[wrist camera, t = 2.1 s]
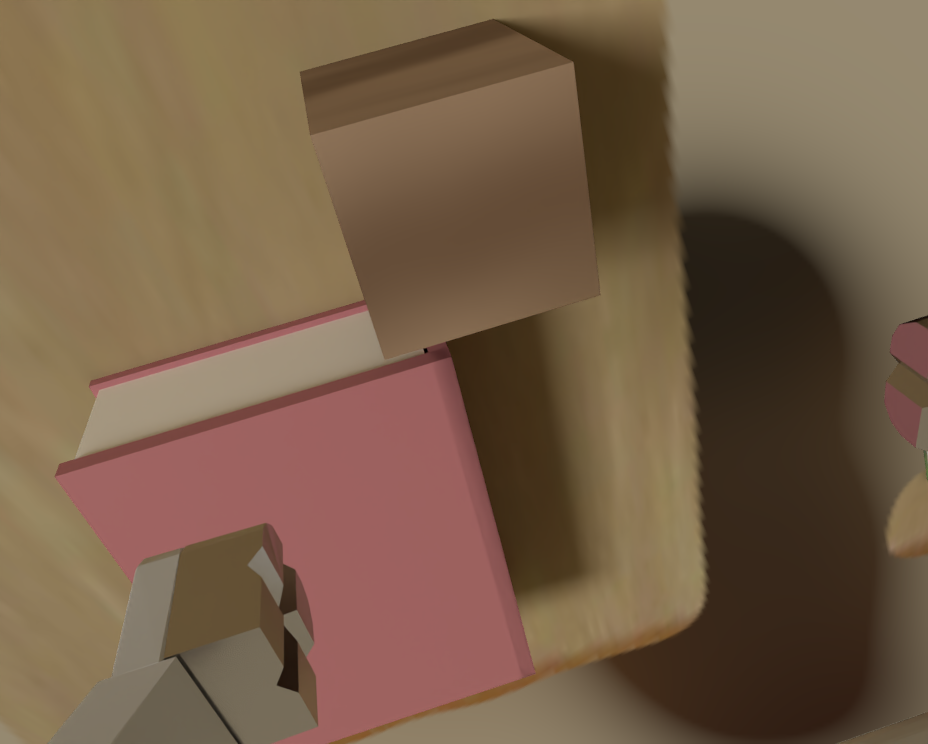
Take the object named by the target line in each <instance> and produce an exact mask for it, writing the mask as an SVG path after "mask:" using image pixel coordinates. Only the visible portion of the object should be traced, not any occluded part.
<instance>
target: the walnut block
mask: <svg viewBox="0 0 928 744" xmlns="http://www.w3.org/2000/svg"><path fill="white" fill-rule="evenodd" d="M300 76H301V82H302V88H303V94H304V100H305V106H306V112H307V118H308V124H309V130H310V136H311V139H312V142H313V145H314V148H315V151H316V154H317V157H318V160H319V163H320V166H321V169H322V172H323V175H324V178H325V181H326V184H327V187H328V190H329V193H330V196H331V199H332V203H333V206H334V209H335V212H336V215H337V218H338V221H339V224H340V227H341V230H342V233H343V236H344V239H345V242H346V245H347V248H348V251H349V254H350V257H351V260H352V263H353V266H354V269H355V272H356V275H357V278H358V281H359V284H360V287H361V290H362V293H363V296H364V299H365V302H366V305H367V308H368V311H369V314H370V317H371V321H372V324H373V327H374V330H375V333H376V336H377V339H378V342H379V345H380V348H381V351H382V354H383V357H384V360H387V359H390V358H393V357H397V356H400V355H403V354H407V353H410V352H413V351H417V350H420V349H423V348H427V347H430V346H433V345H437V344H440V343H443V342H446V341H450V340H453V339H456V338H460V337H463V336H466V335H470V334H473V333H476V332H480V331H483V330H486V329H490V328H493V327H496V326H500V325H503V324H506V323H510V322H513V321H516V320H519V319H523V318H526V317H529V316H533V315H536V314H539V313H543V312H546V311H549V310H553V309H556V308H559V307H563V306H566V305H569V304H573V303H576V302H579V301H582V300H586V299H589V298H592V297H596V296H599V295H600V286H599V278H598V269H597V260H596V252H595V243H594V234H593V226H592V217H591V208H590V200H589V191H588V182H587V174H586V165H585V156H584V148H583V139H582V131H581V122H580V113H579V105H578V96H577V87H576V79H575V70H574V62H573V61H571V60H569V59H567V58H565V57H563V56H561V55H560V54H558V53H556V52H554V51H552V50H550V49H548V48H546V47H545V46H543V45H541V44H539V43H537V42H535V41H533V40H531V39H529V38H528V37H526V36H524V35H522V34H520V33H518V32H516V31H514V30H513V29H511V28H509V27H507V26H505V25H503V24H501V23H499V22H498V21H496V20H494V19H492V20H488V21H484V22H481V23H477V24H473V25H470V26H466V27H462V28H459V29H455V30H451V31H448V32H444V33H440V34H437V35H433V36H429V37H426V38H422V39H418V40H415V41H411V42H407V43H404V44H400V45H396V46H393V47H389V48H385V49H382V50H378V51H374V52H371V53H367V54H363V55H360V56H356V57H352V58H349V59H345V60H341V61H338V62H334V63H330V64H327V65H323V66H319V67H316V68H312V69H308V70H305V71H301V72H300Z"/></svg>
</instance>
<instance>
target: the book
mask: <svg viewBox="0 0 928 744" xmlns="http://www.w3.org/2000/svg"><path fill="white" fill-rule="evenodd" d="M89 388H90V389H91V391H92V392H93V394H94V396H95V397H96V401H95V403H94V406H93V409H92V412H91V415H90V417H89V420H88V423H87V426H86V429H85V431H84V434H83V437H82V440H81V443H80V446H79V448H78V451H77V454H76V457H75V459H74V460H71V461H67V462H64V463H61V464H59V467H58V469H57V472H56V475H55V478H56V479H57V481H58V482H59V484H60V485H61V486H62V488H63V489H64V490H65V492H66V493H67V495H68V496H69V497H70V499H71V500H72V501H73V503H74V504H75V506H76V507H77V508H78V510H79V511H80V512H81V514H82V515H83V517H84V518H85V519H86V521H87V522H88V523H89V525H90V526H91V528H92V529H93V530H94V532H95V533H96V534H97V536H98V537H99V539H100V540H101V541H102V543H103V544H104V545H105V547H106V548H107V550H108V551H109V552H110V554H111V555H112V556H113V558H114V559H115V561H116V562H117V563H118V565H119V566H120V567H121V569H122V570H123V572H124V573H125V574H126V576H127V577H128V578H129V580H130V581H131V583H132V584H133V579H134V575H135V571H136V568H137V567H138V565H139V564H140V563H141V562H142V561H143V559H145V558H149V557H152V556H155V555H159V554H162V553H166V552H169V551H172V550H176V549H179V548H185V546H187V545H191V544H194V543H198V542H201V541H204V540H208V539H211V538H215V537H218V536H222V535H225V534H229V533H232V532H236V531H239V530H242V529H246V528H249V527H253V526H256V525H260V524H263V523H268V524H270V525H272V526H273V528H274V530H275V531H276V533H277V535H278V537H279V539H280V540H281V542H282V544H283V564H285V565H287V566H289V567H291V568H294V569H295V570H296V572H297V574H298V576H299V578H300V580H301V582H302V584H303V587H304V590H305V593H306V595H307V598H308V602H309V607H310V612H311V616H312V621H313V632H314V645H313V647H312V649H311V650H310V652H309V654H308V655H307V657H306V658H307V660H308V662H309V664H310V665H311V667H312V669H313V671H314V673H315V675H316V688H317V710H318V727H316V728H313V729H310V730H308V731H305V732H302V733H299V734H297V735H294V736H291V737H288V738H286V739H283V740H280V741H277V742H275V743H272V744H327V743H330V742H333V741H336V740H339V739H342V738H345V737H348V736H351V735H354V734H357V733H360V732H363V731H366V730H369V729H372V728H375V727H378V726H381V725H384V724H387V723H390V722H393V721H396V720H399V719H402V718H405V717H408V716H411V715H414V714H417V713H420V712H423V711H426V710H429V709H432V708H435V707H438V706H441V705H444V704H447V703H450V702H453V701H456V700H459V699H462V698H465V697H468V696H471V695H474V694H477V693H480V692H483V691H486V690H489V689H492V688H495V687H498V686H501V685H504V684H507V683H510V682H513V681H516V680H519V679H521V678H524V677H527V676H530V675H533V674H535V670H534V666H533V662H532V658H531V655H530V651H529V647H528V643H527V640H526V636H525V632H524V628H523V625H522V621H521V617H520V613H519V609H518V606H517V602H516V598H515V594H514V591H513V587H512V583H511V579H510V576H509V572H508V568H507V564H506V560H505V557H504V553H503V549H502V545H501V542H500V538H499V534H498V530H497V527H496V523H495V519H494V515H493V511H492V508H491V504H490V500H489V496H488V493H487V489H486V485H485V481H484V478H483V474H482V470H481V466H480V462H479V459H478V455H477V451H476V447H475V444H474V440H473V436H472V432H471V428H470V425H469V421H468V417H467V413H466V410H465V406H464V402H463V398H462V395H461V391H460V387H459V383H458V379H457V376H456V372H455V368H454V364H453V361H452V357H451V354H450V352H449V349H448V347H447V344H446V342H443V343H440V344H437V345H433V346H430V347H427V348H423V349H420V350H417V351H413V352H410V353H407V354H403V355H400V356H397V357H393V358H390V359H387V360H384V357H383V354H382V351H381V348H380V345H379V342H378V339H377V336H376V333H375V330H374V327H373V324H372V321H371V317H370V314H369V311H368V308H367V305H366V302H365V300H363V301H360V302H356V303H353V304H350V305H346V306H343V307H339V308H336V309H333V310H329V311H326V312H323V313H319V314H316V315H312V316H309V317H306V318H302V319H299V320H295V321H292V322H289V323H285V324H282V325H278V326H275V327H272V328H268V329H265V330H262V331H258V332H255V333H251V334H248V335H245V336H241V337H238V338H234V339H231V340H228V341H224V342H221V343H217V344H214V345H211V346H207V347H204V348H201V349H197V350H194V351H190V352H187V353H184V354H180V355H177V356H173V357H170V358H167V359H163V360H160V361H157V362H153V363H150V364H146V365H143V366H140V367H136V368H133V369H129V370H126V371H123V372H119V373H116V374H112V375H109V376H106V377H102V378H99V379H96V380H92V381H91V382H90V385H89Z"/></svg>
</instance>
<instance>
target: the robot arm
mask: <svg viewBox="0 0 928 744" xmlns="http://www.w3.org/2000/svg"><path fill="white" fill-rule="evenodd" d="M890 353H891V355H892V356H893V357H894V358H895V359H896V361H897V362H898V363H899V364H898V365H897V366H896V368H895V369H894V371H893V372H892V374H891V375H890V376H889V378H888V379H887V380H886V387H885V400H884V402H885V406H886V409H887V411H888V414H889V417H890V420H891V422H892V424H893V425H894V426H895V428H896V429H897V431H898V432H899V433H900V435H901V436H902V437H904V438H905V439H906V440H907V441H909V443H911V444H912V445H913V446H914V447H915V448H918V449H921V450H925V451H928V315H927V316H924V317H921V318H918V319H915V320H912V321H909V322H906V323H902V324H900V325H899V326H898V328H897V329H896V331H895V332H894V334H893V336H892V341H891V348H890ZM313 645H314V632H313V621H312V616H311V612H310V607H309V602H308V598H307V595H306V593H305V590H304V587H303V584H302V582H301V580H300V578H299V576H298V574H297V572H296V570H295V569H294V568H291V567H289V566H287V565H285V564H283V544H282V542H281V540H280V539H279V537H278V535H277V533H276V531H275V530H274V528H273V526H272V525H270V524H268V523H263V524H260V525H256V526H253V527H249V528H246V529H242V530H239V531H236V532H232V533H229V534H225V535H222V536H218V537H215V538H211V539H208V540H204V541H201V542H198V543H194V544H191V545H187V546H185V548H179V549H176V550H172V551H169V552H166V553H162V554H159V555H155V556H152V557H149V558H145V559H143V561H142V562H141V563H140V564H139V565H138V567H137V568H136V571H135V575H134V579H133V584H132V588H131V593H130V597H129V602H128V606H127V610H126V615H125V619H124V624H123V628H122V633H121V637H120V641H119V646H118V650H117V655H116V659H115V664H114V668H113V673H112V677H111V678H108V679H105V680H102V681H99V682H98V683H97V684H96V685H95V686H94V687H93V689H92V690H91V691H90V692H89V694H88V695H87V696H86V697H85V698H84V700H83V701H82V702H81V703H80V704H79V706H78V707H77V708H76V709H75V711H74V712H73V713H72V714H71V715H70V717H69V718H68V719H67V720H66V721H65V723H64V724H63V725H62V726H61V728H60V729H59V730H58V731H57V732H56V734H55V735H54V736H53V737H52V739H51V740H50V741H49V742H48V743H47V744H272V743H275V742H277V741H280V740H283V739H286V738H288V737H291V736H294V735H297V734H299V733H302V732H305V731H308V730H310V729H313V728H316V727H318V710H317V688H316V675H315V673H314V671H313V669H312V667H311V665H310V664H309V662H308V660H307V658H306V657H307V655H308V654H309V652H310V650H311V649H312V647H313ZM837 744H928V712H925V713H922V714H920V715H917V716H914V717H911V718H908V719H905V720H902V721H900V722H897V723H894V724H891V725H888V726H885V727H883V728H880V729H877V730H874V731H871V732H868V733H866V734H863V735H860V736H857V737H854V738H852V739H849V740H846V741H843V742H840V743H837Z"/></svg>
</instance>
